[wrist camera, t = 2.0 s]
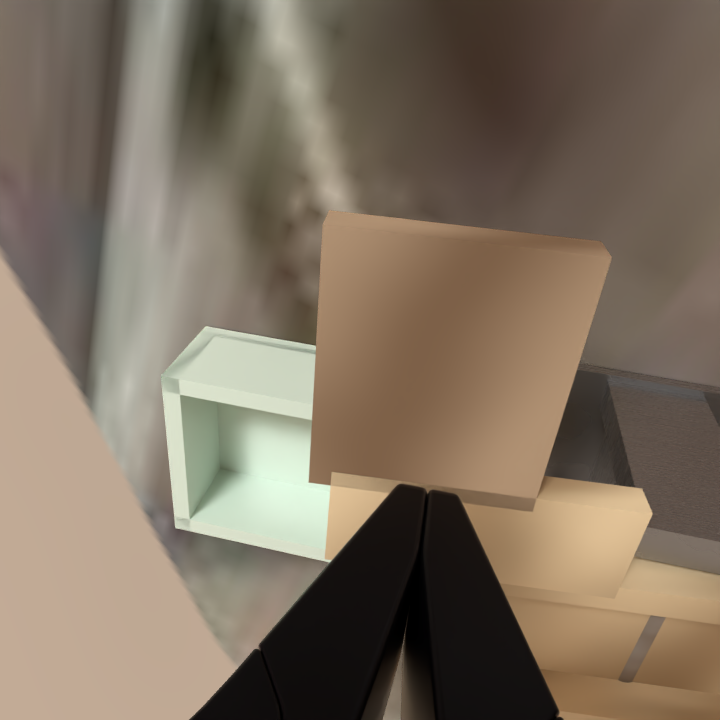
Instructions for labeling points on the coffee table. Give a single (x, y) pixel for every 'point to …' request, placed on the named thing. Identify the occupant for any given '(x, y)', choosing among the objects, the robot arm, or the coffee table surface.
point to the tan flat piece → (502, 449)
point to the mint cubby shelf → (245, 442)
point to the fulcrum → (649, 456)
